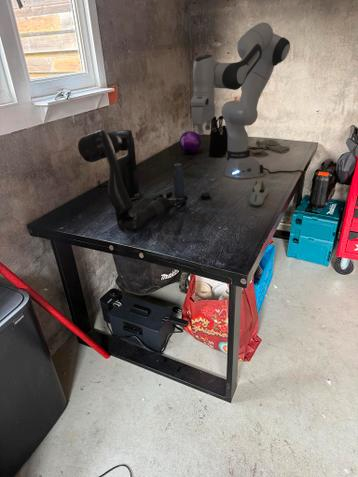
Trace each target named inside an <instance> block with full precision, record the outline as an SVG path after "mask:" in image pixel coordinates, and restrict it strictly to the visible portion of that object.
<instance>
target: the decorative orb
mask: <svg viewBox="0 0 358 477" xmlns="http://www.w3.org/2000/svg"><path fill="white" fill-rule="evenodd" d="M178 141H179V142H178V143H179V148H180V149H181V150H182V151H183V153H185V154H194V153H196V152H197V151H198V150H199V149H200V147H201V145H202V140H201V137H200V135H199V133H197V132H195V131H192V130H187V131H185V132H184V133H182V135H181V136H180V138H179V140H178Z"/></svg>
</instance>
